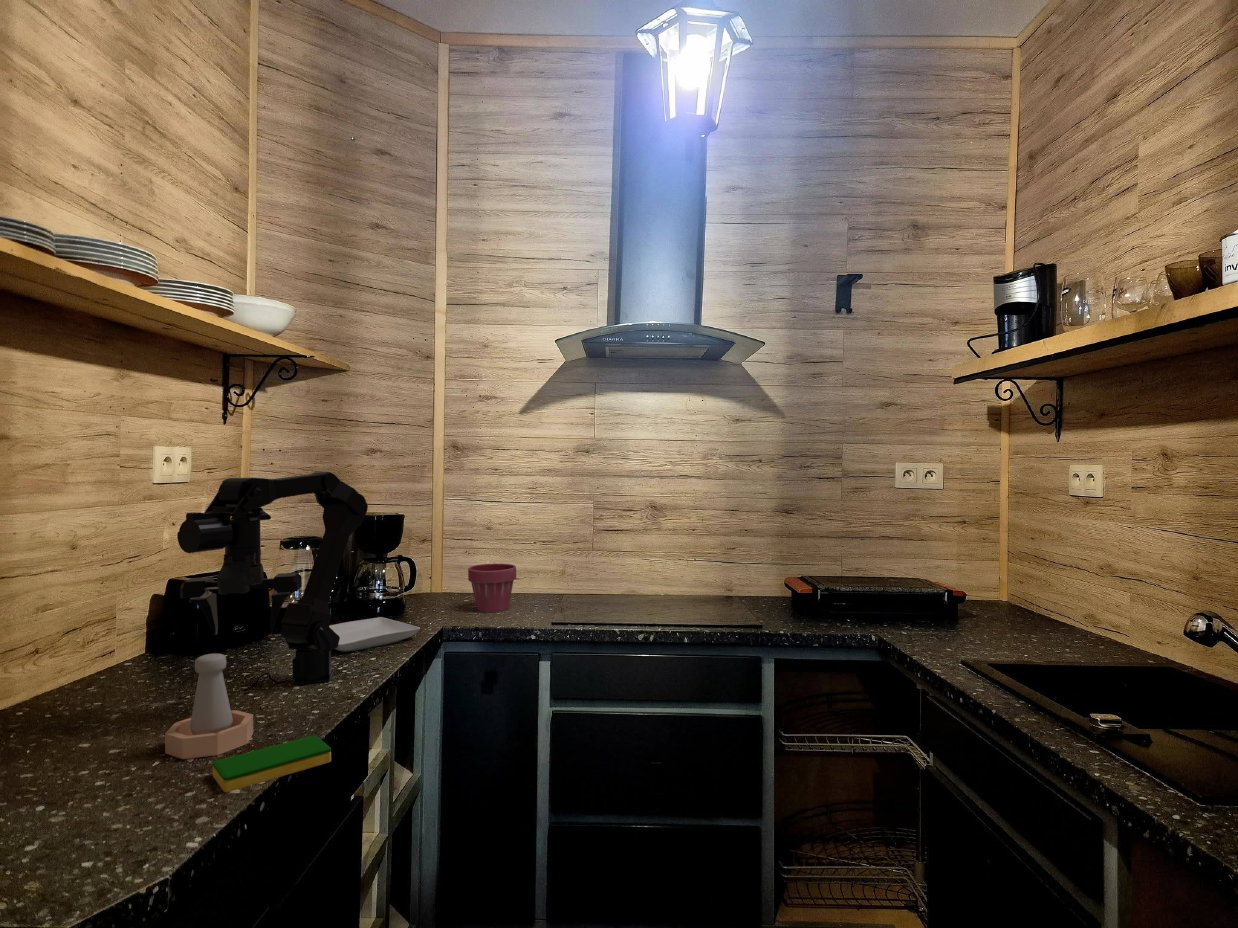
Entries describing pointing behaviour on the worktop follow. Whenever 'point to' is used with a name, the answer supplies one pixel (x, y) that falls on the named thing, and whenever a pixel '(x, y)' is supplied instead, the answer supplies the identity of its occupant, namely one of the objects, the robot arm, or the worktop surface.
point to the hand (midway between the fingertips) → (243, 632)
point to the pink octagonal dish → (208, 738)
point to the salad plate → (371, 633)
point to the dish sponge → (270, 763)
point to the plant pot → (492, 586)
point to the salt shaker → (210, 697)
